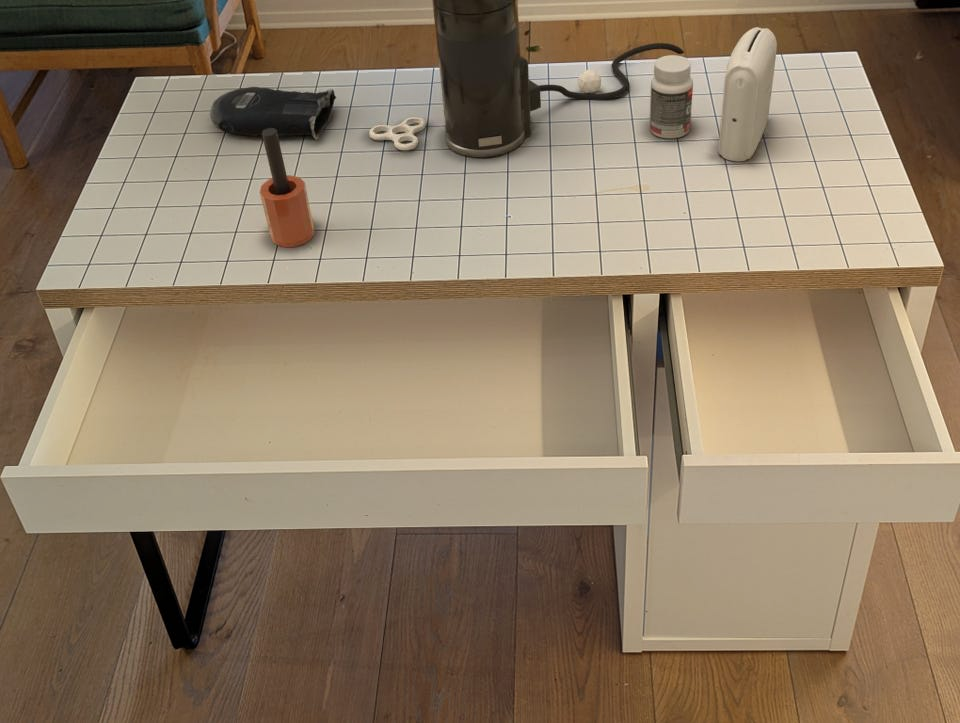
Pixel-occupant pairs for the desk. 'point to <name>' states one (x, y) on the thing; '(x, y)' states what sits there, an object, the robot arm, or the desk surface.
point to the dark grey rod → (276, 161)
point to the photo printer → (747, 94)
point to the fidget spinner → (400, 137)
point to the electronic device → (272, 111)
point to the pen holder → (288, 213)
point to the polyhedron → (589, 81)
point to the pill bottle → (671, 97)
